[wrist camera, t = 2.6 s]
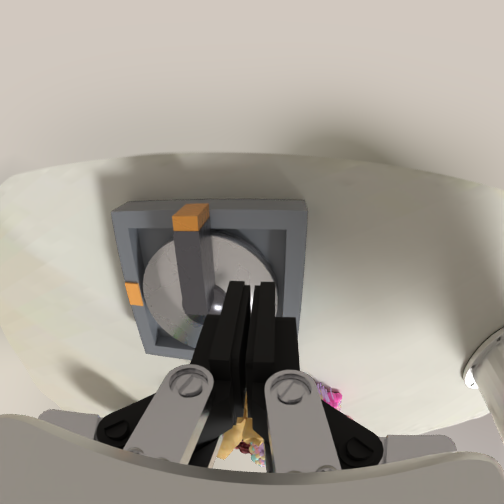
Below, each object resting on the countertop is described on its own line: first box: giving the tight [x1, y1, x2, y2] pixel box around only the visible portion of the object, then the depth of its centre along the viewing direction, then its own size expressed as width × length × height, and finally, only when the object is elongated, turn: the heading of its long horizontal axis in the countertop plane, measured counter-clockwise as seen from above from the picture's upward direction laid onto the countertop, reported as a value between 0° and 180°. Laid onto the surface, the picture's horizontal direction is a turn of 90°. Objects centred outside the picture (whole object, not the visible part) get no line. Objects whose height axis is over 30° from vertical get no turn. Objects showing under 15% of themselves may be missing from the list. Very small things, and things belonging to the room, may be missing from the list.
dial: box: [143, 203, 278, 348], centre depth 23 cm, size 15×12×5 cm
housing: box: [111, 199, 308, 360], centre depth 26 cm, size 16×16×3 cm
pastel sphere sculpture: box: [217, 383, 353, 467], centre depth 33 cm, size 25×24×9 cm
